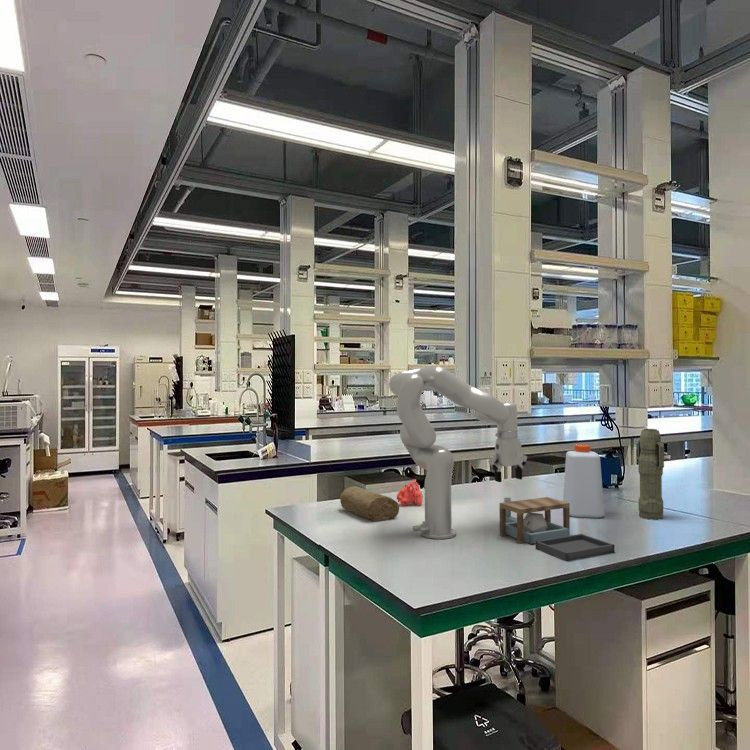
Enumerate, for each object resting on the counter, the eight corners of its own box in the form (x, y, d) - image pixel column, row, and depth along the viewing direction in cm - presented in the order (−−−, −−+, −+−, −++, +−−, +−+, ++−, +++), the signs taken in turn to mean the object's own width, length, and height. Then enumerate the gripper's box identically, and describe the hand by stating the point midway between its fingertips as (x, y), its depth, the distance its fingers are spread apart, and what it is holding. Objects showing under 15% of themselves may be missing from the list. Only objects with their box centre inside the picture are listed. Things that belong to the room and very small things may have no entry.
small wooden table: (520, 543, 189) (519, 509, 189) (499, 535, 199) (499, 503, 199) (569, 535, 198) (569, 503, 198) (547, 528, 208) (547, 497, 208)
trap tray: (566, 561, 171) (566, 553, 171) (535, 548, 184) (535, 541, 184) (614, 552, 179) (614, 544, 179) (581, 540, 192) (581, 533, 192)
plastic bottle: (606, 519, 221) (605, 448, 221) (566, 517, 224) (565, 447, 224) (599, 510, 236) (598, 443, 236) (561, 508, 239) (561, 442, 239)
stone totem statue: (656, 521, 216) (656, 431, 217) (630, 515, 227) (630, 428, 227) (672, 519, 220) (671, 430, 220) (645, 512, 231) (645, 427, 231)
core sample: (365, 506, 246) (365, 483, 246) (400, 519, 223) (400, 494, 223) (337, 510, 238) (337, 487, 238) (370, 524, 216) (370, 498, 216)
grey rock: (519, 533, 203) (515, 516, 198) (536, 520, 206) (533, 502, 201) (535, 547, 197) (532, 529, 192) (553, 533, 200) (550, 515, 194)
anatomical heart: (395, 509, 246) (391, 482, 249) (417, 506, 252) (413, 480, 255) (406, 507, 239) (402, 480, 241) (429, 504, 245) (425, 477, 248)
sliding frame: (569, 537, 195) (569, 508, 195) (530, 543, 188) (530, 513, 188) (523, 521, 217) (523, 495, 217) (487, 526, 210) (487, 499, 210)
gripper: (494, 437, 206) (496, 484, 206) (532, 434, 213) (533, 479, 213) (482, 435, 212) (483, 481, 212) (519, 432, 220) (520, 476, 220)
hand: (508, 480), depth 213 cm, fingers open, 9 cm apart
